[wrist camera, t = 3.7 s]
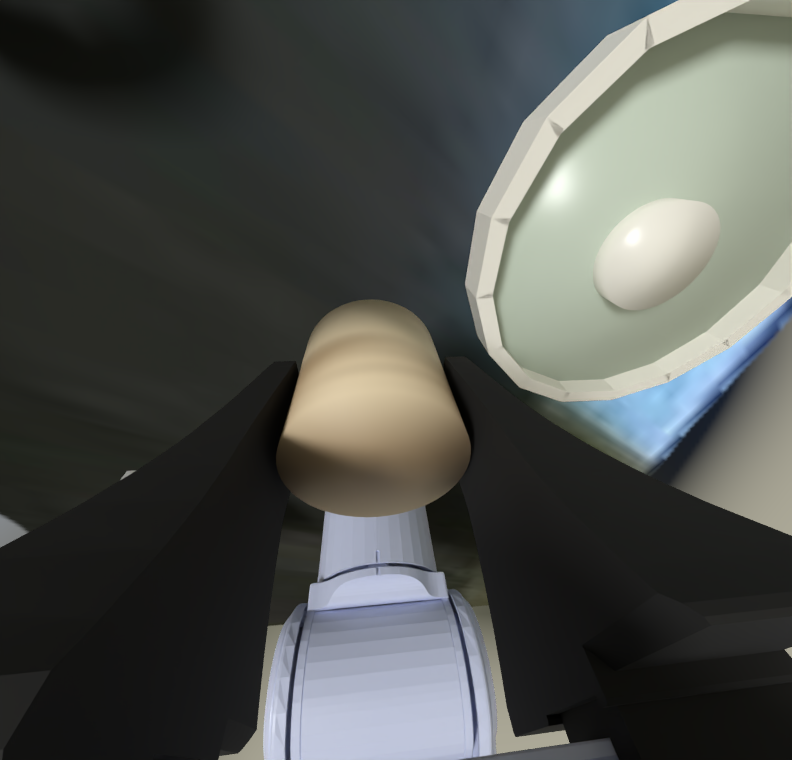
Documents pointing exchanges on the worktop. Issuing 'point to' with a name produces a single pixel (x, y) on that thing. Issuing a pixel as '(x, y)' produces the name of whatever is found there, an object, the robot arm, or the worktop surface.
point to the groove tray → (643, 206)
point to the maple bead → (372, 416)
